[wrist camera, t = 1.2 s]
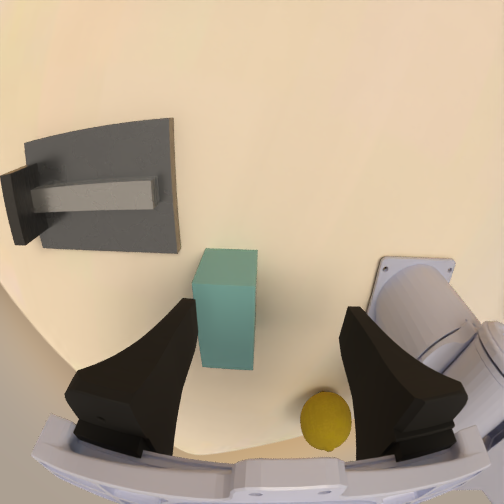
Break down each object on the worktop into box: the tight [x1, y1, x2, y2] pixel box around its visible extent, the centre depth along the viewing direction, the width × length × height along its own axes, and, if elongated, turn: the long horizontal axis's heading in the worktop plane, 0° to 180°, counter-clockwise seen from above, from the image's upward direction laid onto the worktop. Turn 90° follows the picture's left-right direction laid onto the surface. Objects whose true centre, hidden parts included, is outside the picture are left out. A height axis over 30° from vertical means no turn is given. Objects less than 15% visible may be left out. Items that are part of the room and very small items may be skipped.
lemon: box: [300, 391, 352, 452], centre depth 27 cm, size 6×6×8 cm
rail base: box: [0, 118, 181, 254], centre depth 19 cm, size 14×10×4 cm
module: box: [192, 248, 258, 370], centre depth 22 cm, size 4×8×5 cm, turn 179°
